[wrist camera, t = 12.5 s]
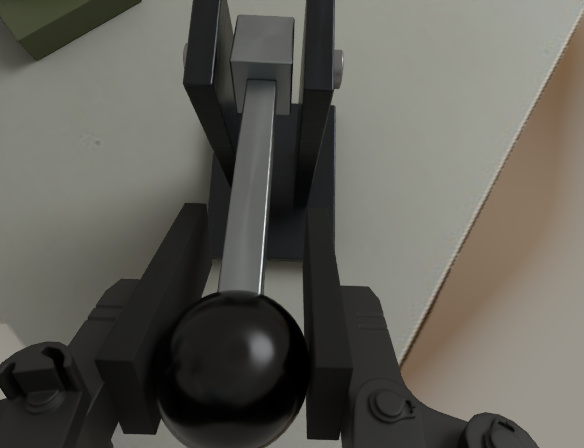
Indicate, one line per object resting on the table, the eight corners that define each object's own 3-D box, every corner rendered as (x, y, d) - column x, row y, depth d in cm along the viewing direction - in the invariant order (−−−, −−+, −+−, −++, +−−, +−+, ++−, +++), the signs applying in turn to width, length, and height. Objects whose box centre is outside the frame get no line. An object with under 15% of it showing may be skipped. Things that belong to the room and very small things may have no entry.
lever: (304, 453, 9) (317, 472, 6) (164, 448, 9) (100, 466, 6) (307, 83, 16) (314, 0, 13) (228, 79, 16) (216, -5, 13)
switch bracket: (332, 262, 25) (398, 204, 10) (207, 257, 25) (101, 192, 10) (333, 113, 28) (387, -95, 13) (221, 108, 28) (152, -108, 13)
